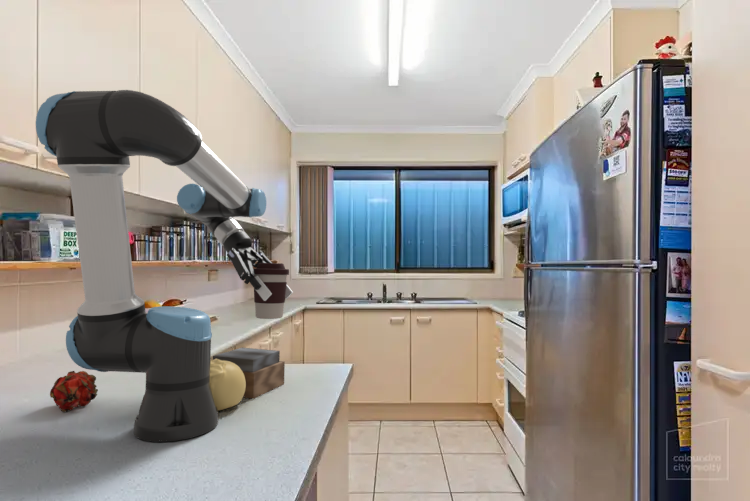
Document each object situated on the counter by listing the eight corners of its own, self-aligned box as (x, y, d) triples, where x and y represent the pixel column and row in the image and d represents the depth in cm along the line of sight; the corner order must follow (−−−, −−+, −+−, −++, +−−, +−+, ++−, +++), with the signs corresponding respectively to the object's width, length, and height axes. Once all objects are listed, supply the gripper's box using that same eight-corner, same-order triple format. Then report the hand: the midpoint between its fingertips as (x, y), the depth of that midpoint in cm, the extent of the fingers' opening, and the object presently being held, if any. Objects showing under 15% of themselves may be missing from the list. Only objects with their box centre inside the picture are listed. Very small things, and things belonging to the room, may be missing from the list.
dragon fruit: (82, 405, 104) (73, 430, 93) (47, 388, 101) (33, 412, 90) (107, 375, 106) (101, 396, 95) (73, 357, 102) (62, 377, 91)
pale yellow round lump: (181, 405, 100) (183, 358, 100) (233, 396, 108) (234, 351, 108) (198, 420, 91) (200, 367, 92) (253, 408, 99) (254, 360, 99)
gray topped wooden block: (253, 398, 106) (254, 361, 106) (206, 392, 110) (206, 356, 111) (284, 383, 119) (284, 350, 119) (240, 378, 123) (241, 346, 124)
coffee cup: (265, 320, 114) (267, 262, 114) (242, 317, 120) (245, 262, 121) (294, 318, 122) (296, 263, 122) (272, 315, 128) (273, 263, 128)
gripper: (250, 250, 137) (292, 303, 131) (197, 245, 116) (245, 308, 110) (265, 233, 136) (308, 285, 130) (214, 225, 115) (263, 288, 109)
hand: (279, 296), depth 120 cm, fingers closed on coffee cup, 10 cm apart
